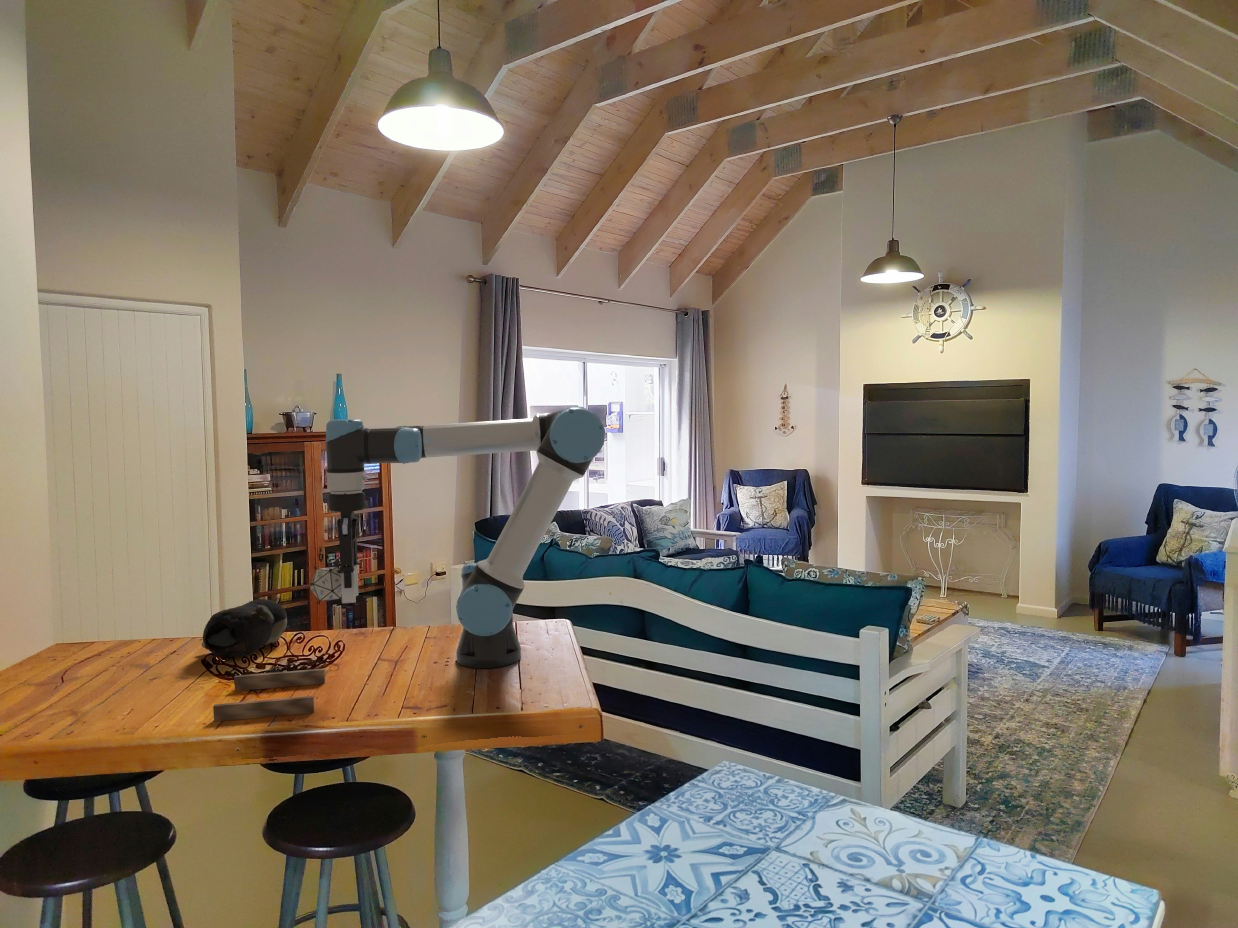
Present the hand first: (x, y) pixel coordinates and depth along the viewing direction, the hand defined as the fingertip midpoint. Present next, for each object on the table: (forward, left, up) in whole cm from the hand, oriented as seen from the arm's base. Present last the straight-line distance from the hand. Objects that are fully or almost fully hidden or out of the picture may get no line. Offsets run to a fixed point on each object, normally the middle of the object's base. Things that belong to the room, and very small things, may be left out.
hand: (350, 598), depth 170 cm
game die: (+4, +1, 0) cm, 4 cm away
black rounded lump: (+28, -31, -19) cm, 46 cm away
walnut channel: (+15, +6, -19) cm, 25 cm away
